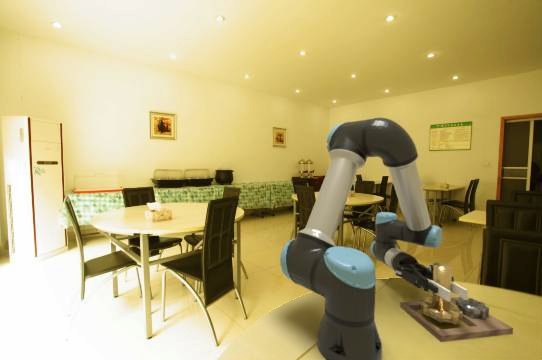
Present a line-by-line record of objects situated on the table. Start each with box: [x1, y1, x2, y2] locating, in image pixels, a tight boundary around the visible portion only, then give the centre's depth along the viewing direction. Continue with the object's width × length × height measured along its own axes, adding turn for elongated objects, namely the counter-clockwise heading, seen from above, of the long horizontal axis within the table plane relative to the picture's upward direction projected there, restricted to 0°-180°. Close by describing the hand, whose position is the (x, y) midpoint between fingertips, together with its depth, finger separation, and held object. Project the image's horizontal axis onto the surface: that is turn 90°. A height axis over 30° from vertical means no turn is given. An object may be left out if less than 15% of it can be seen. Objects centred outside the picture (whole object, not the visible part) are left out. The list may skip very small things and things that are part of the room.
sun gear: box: [455, 296, 490, 320], centre depth 75 cm, size 8×8×2 cm
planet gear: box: [420, 262, 463, 325], centre depth 73 cm, size 10×10×14 cm
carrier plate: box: [399, 296, 514, 343], centre depth 74 cm, size 21×16×2 cm
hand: (457, 295), depth 68 cm, fingers closed on planet gear, 4 cm apart
